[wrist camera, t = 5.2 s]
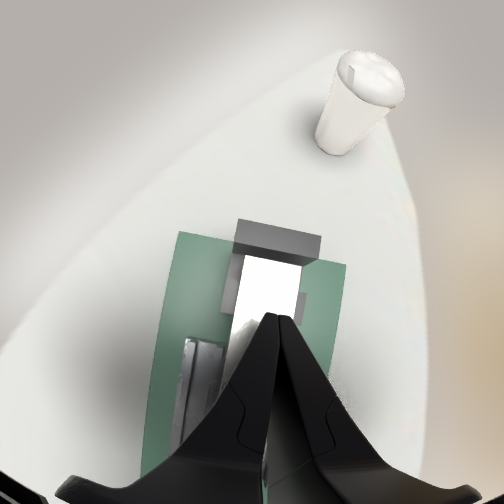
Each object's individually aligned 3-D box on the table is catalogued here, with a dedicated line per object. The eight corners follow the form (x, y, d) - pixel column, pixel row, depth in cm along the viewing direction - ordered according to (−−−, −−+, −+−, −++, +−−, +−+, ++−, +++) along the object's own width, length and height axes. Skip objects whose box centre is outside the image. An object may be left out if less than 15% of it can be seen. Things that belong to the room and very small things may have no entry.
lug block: (276, 320, 19) (307, 327, 12) (220, 310, 19) (219, 312, 12) (286, 261, 20) (321, 236, 13) (232, 250, 20) (238, 218, 12)
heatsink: (269, 470, 17) (276, 489, 14) (170, 455, 16) (163, 474, 14) (296, 354, 19) (308, 361, 16) (188, 335, 18) (183, 340, 16)
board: (287, 507, 17) (289, 513, 16) (141, 487, 16) (139, 492, 15) (342, 266, 21) (346, 264, 20) (180, 234, 20) (179, 231, 19)
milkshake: (287, 133, 22) (322, 41, 13) (334, 110, 23) (379, 29, 14) (322, 177, 22) (381, 98, 12) (367, 149, 23) (430, 77, 13)
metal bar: (233, 538, 11) (235, 561, 9) (193, 533, 11) (191, 556, 9) (291, 272, 15) (303, 265, 12) (242, 262, 14) (246, 253, 12)
